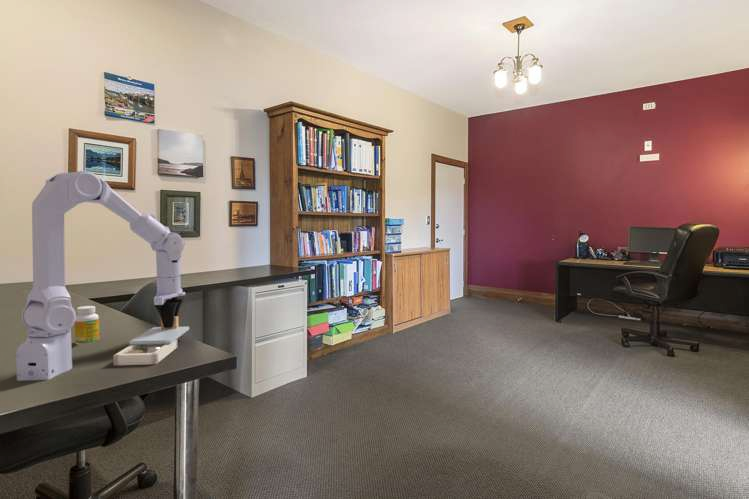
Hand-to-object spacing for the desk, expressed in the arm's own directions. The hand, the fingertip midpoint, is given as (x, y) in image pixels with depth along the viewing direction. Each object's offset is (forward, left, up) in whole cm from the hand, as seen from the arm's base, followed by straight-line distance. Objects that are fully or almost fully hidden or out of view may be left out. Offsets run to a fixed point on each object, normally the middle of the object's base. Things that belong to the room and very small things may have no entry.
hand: (169, 326), depth 111 cm
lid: (-6, 0, -1) cm, 6 cm away
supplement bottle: (+2, +22, -5) cm, 23 cm away
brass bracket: (-18, +2, -4) cm, 18 cm away
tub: (-14, 0, -4) cm, 14 cm away
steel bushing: (-14, -2, -4) cm, 15 cm away
